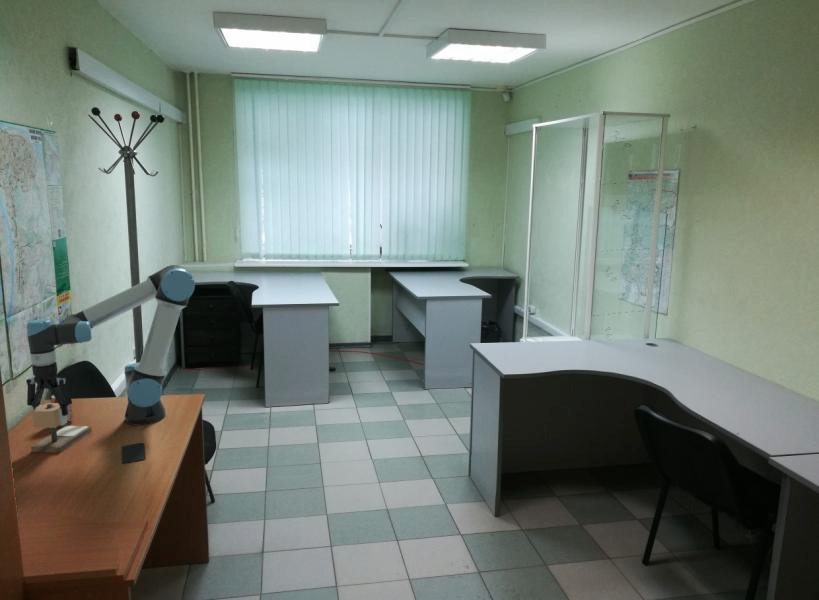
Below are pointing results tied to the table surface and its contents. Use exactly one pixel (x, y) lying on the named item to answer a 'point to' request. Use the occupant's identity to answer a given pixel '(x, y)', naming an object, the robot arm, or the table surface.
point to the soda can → (53, 400)
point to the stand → (61, 438)
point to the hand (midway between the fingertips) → (52, 423)
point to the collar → (47, 416)
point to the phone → (133, 453)
